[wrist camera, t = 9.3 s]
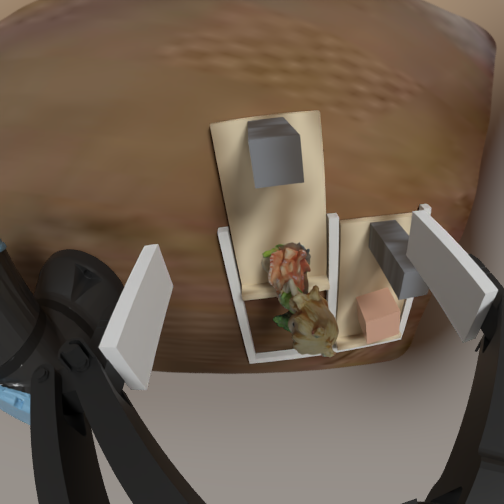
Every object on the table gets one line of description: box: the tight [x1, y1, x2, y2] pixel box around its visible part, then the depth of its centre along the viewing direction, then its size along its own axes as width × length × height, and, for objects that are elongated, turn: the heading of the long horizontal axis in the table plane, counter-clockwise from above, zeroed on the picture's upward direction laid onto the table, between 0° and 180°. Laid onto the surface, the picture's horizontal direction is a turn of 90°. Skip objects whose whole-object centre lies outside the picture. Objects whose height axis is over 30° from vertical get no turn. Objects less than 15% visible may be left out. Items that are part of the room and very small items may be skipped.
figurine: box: [261, 242, 339, 357], centre depth 31 cm, size 9×8×15 cm
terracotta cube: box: [356, 287, 400, 344], centre depth 39 cm, size 5×5×5 cm
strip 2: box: [335, 213, 429, 350], centre depth 35 cm, size 11×22×11 cm, turn 8°
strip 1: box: [210, 110, 330, 301], centre depth 29 cm, size 11×22×11 cm, turn 8°
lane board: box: [218, 204, 431, 364], centre depth 40 cm, size 27×25×1 cm
